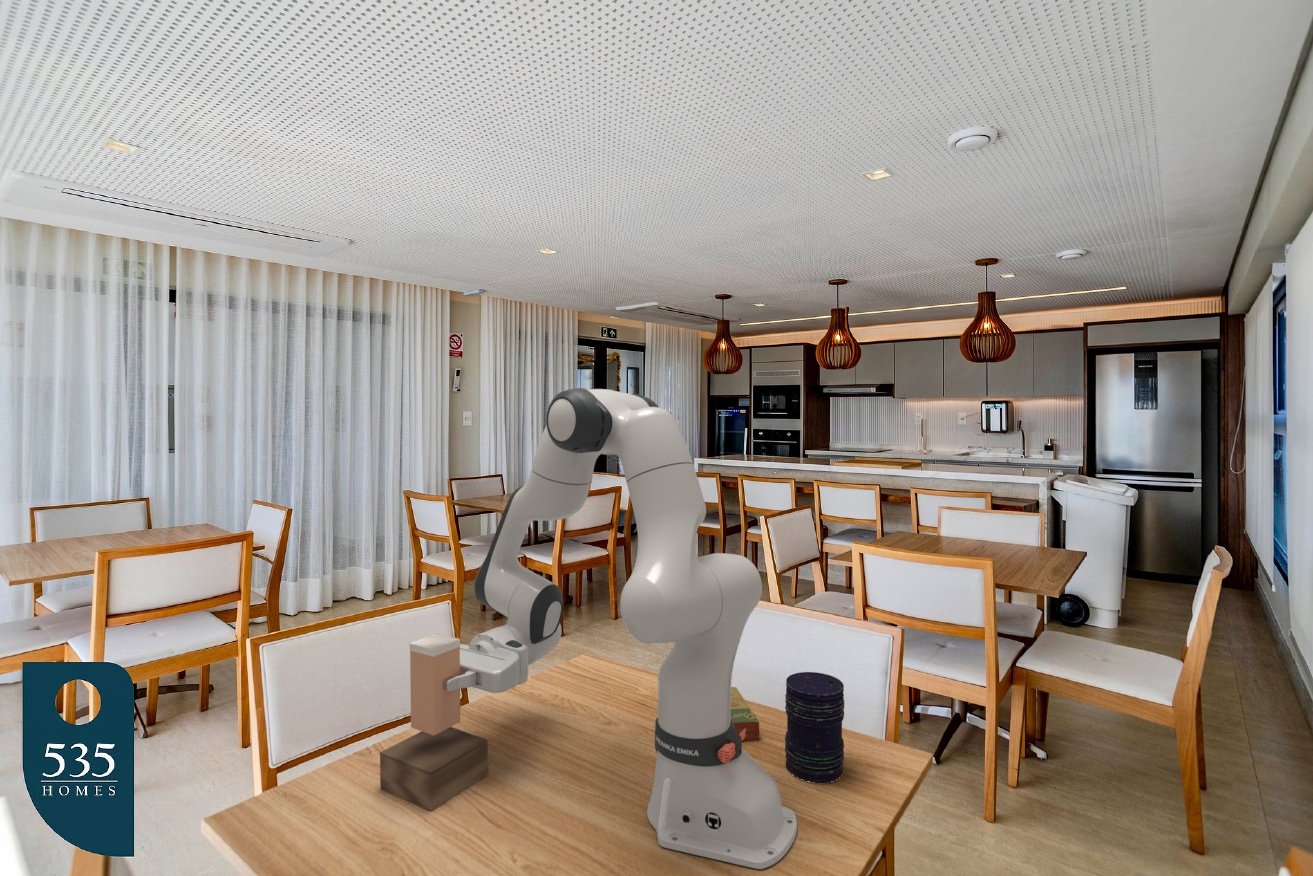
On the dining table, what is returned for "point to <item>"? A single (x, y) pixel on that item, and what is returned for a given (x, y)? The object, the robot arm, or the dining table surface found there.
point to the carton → (743, 716)
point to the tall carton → (434, 683)
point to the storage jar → (814, 726)
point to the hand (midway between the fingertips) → (431, 681)
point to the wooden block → (433, 766)
